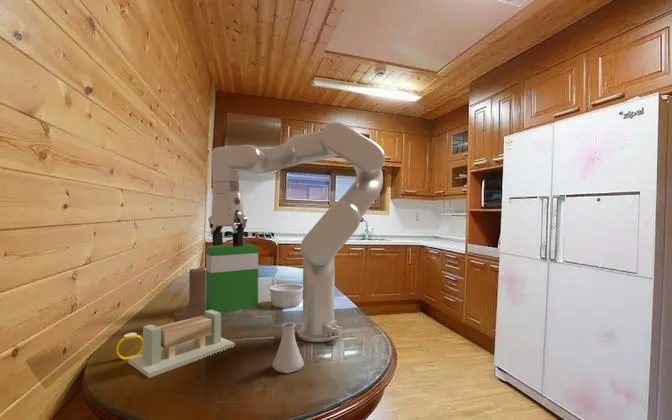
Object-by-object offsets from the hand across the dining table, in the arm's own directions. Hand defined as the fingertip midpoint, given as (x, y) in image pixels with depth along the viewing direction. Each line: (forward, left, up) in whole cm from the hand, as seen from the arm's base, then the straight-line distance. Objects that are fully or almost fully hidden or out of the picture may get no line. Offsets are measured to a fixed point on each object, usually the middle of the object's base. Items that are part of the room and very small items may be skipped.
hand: (227, 245), depth 99 cm
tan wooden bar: (-3, +15, -23) cm, 27 cm away
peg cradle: (-3, +15, -27) cm, 31 cm away
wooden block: (+17, +3, -27) cm, 32 cm away
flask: (-29, +3, -27) cm, 40 cm away
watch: (+5, +24, -27) cm, 37 cm away
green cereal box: (+23, -17, -27) cm, 39 cm away
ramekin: (+11, -34, -27) cm, 45 cm away
